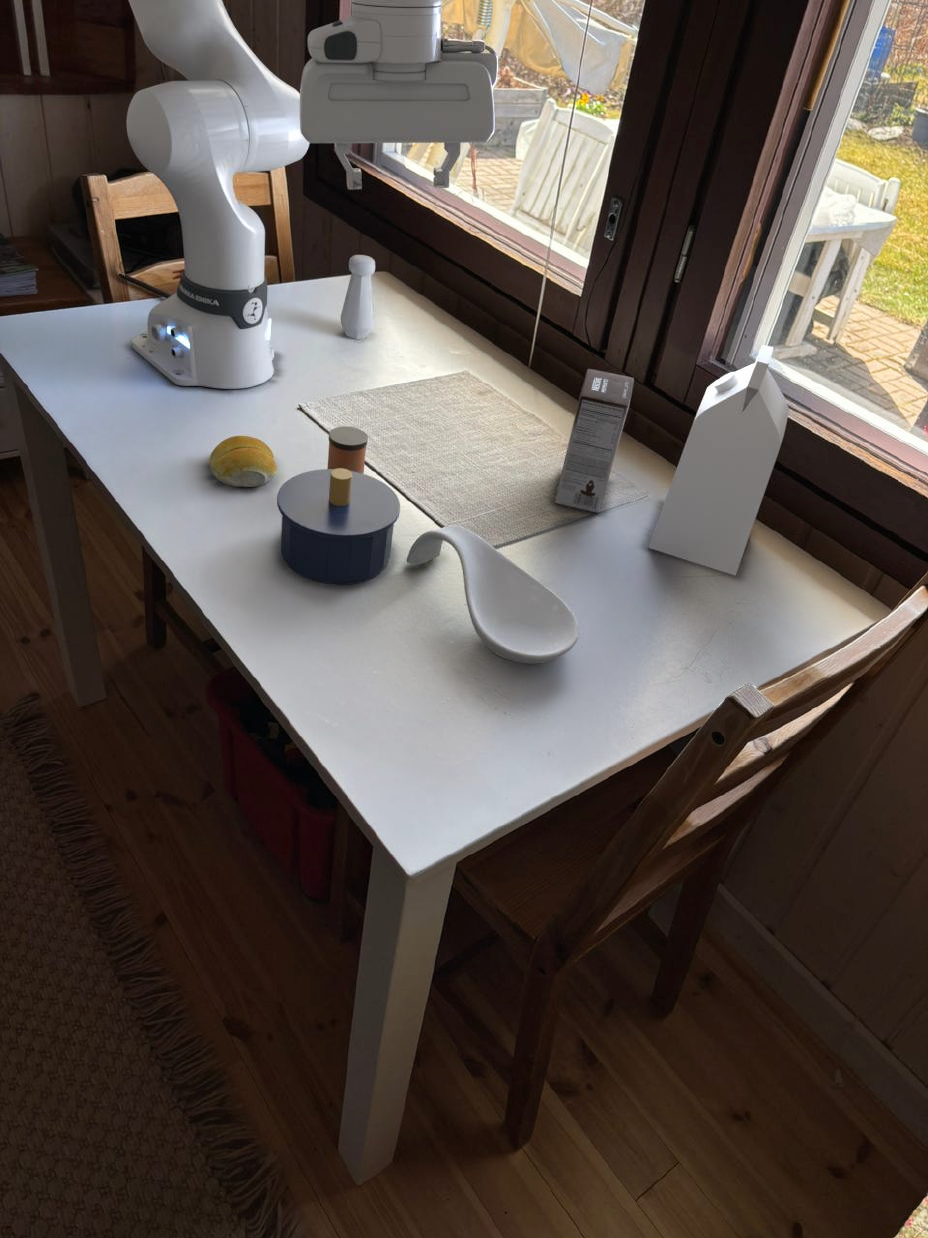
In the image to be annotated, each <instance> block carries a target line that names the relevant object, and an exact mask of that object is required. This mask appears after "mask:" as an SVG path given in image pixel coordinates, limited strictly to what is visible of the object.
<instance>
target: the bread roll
mask: <svg viewBox="0 0 928 1238" xmlns="http://www.w3.org/2000/svg"><path fill="white" fill-rule="evenodd" d="M274 457H275V456H274V453H273V451H272V449H271V448H270V447H269V445H268V444H266V443H265V442H264V441H263V440H261V439H259V438H257V437H254V436H249V435H234V436H231V437H227V438H225V439H224V440H222V441H221V442H219V444H217V445H216V446H215V447H214V449H212V452H211V453H210V455H209V460H208V464H209V467H210V471H211V473H212V475H213V476H214V477H215V478H216V479H217V480H218V481H219V482H221V483H222V484H225V485H227V486H231V487H239V488H240V487H241V488H255V487H261V486H264V485H265V484H267V483H268V482H269V481H270V480H272V479H273V477H274V476H276V473H277V470H278V467H277V463H276V461H275V458H274Z"/></svg>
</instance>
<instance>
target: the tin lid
mask: <svg viewBox="0 0 928 1238" xmlns="http://www.w3.org/2000/svg"><path fill="white" fill-rule="evenodd" d="M276 503H277V504H276V505H277V508H278V511H279V512H280V514H281V517H282V516H283V517H284V518H285V519H286V520H287V521H288V522H289V523H291V524H292V525H294V526H295V527H297V528H299V529H301V530H303V531H305V532H307V533H310V534H313V535H316V536H320V537H325V538H331V539H344V540H350V539H361V538H367V537H371V536H374V535H377V534H380V533H382V532H384V531H386V530H387V529H389V528H390V527H391V526H392V525H394V526H395V523H396V522H397V521H398V519H399V517H400V512H401V503H400V499H399V497H398V495H397V494H396V492H395V491H394V490H393V489H392V488H391V487H390V486H389V485H387V484H386V483H384V482H382V481H381V480H379V479H377V478H375V477H374V476H370V475H368V474H365V473H364V474H362V473H358V472H354V471H349V470H347V469H343V468H337V469H327V468H325V469H324V468H321V469H315V470H310V471H305V472H301V473H298V474H297V475H294V476H292V477H290V478H289V479H287V480H286V481H285V482H284V483H283V484H282V485H281V487H280V488H279V489H278V492H277V497H276Z"/></svg>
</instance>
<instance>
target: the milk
mask: <svg viewBox="0 0 928 1238" xmlns="http://www.w3.org/2000/svg"><path fill="white" fill-rule="evenodd" d="M774 349H775V348H774V347H773V346H770V345H766V344H762V345H761V347H760V349H759V352H758V353H757V357H756V359H755V362H753V363H751V364H749V365H747V366H745V367H742V368H740V369H738V370H736V371H731V372H728V373H726V374H724V375H723V376H721V377H720V378H718V379H716V380H714V382H712V383H710V384H709V385H708V386H707V387H706V389H705V392H704V395H703V397H702V400H701V402H700V405H699V407H698V409H697V412H696V415H695V417H694V419H693V423H692V424H691V428H690V430H689V433H688V436H687V438H686V442H685V444H684V447H683V449H682V453H681V456H680V458H679V461H678V464H677V465H676V469H675V472H674V475H673V478H672V480H671V483H670V486H669V489H668V491H667V494H666V497H665V499H664V502H663V505H662V507H661V509H660V513H659V515H658V516H659V517H658V519H657V522H656V524H655V527H654V529H653V533H652V536H651V537H650V540H649V544H648V547H647V548H648V549H650V550H651V549H652V550H654V551H658V552H661V553H664V554H666V555H670V556H673V557H676V558H679V559H683V560H685V561H689V562H692V563H694V564H697V565H700V566H704V567H707V568H711V569H714V570H715V571H716V570H717V571H719V572H723V573H726V574H729V575H732V576H736V575H737V572H738V569H739V567H740V564H741V561H742V559H743V555H744V552H745V549H746V547H747V544H748V541H749V538H750V536H751V532H752V529H753V527H754V523H755V521H756V518H757V515H758V513H759V509H760V506H761V504H762V501H763V498H764V495H765V492H766V490H767V487H768V484H769V480H770V478H771V475H772V472H773V470H774V466H775V464H776V461H777V458H778V455H779V452H780V449H781V447H782V446H781V445H782V443H783V439H784V437H785V431H786V427H787V422H788V417H789V413H790V408H789V405H788V402H787V399H786V397H785V396H784V394H783V392H782V390H781V388H780V387H779V385H778V384H777V382H776V380H775V378H774V377H773V375H772V374H771V372H770V370H769V368H768V367H769V365H770V362H771V359H772V354H773V351H774Z"/></svg>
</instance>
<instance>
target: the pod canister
mask: <svg viewBox="0 0 928 1238" xmlns="http://www.w3.org/2000/svg"><path fill="white" fill-rule="evenodd" d="M368 437H369V436H368V434H367V433H366V432H365V431H364V430H362V429H360V428H357V427H353V426H348V425H347V426H336V427H334V428H332V429H331V430H330V431H329V433H328V453H327V454H328V455H327V468H326V469H337V468H343V469H347V470H349V471H354V472H358V473H362V474H365V473H364V472H365V462H366V453H367V452H366V451H367V445H368V440H369V438H368Z"/></svg>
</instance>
